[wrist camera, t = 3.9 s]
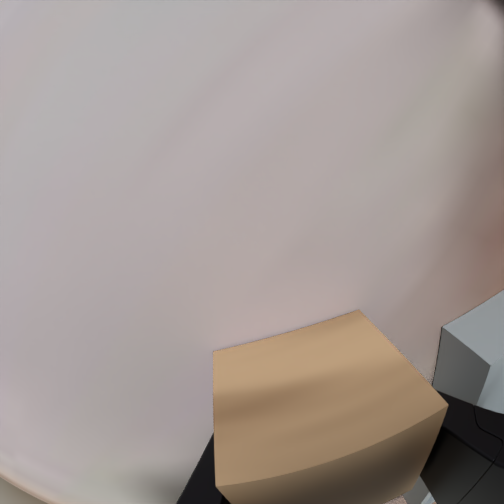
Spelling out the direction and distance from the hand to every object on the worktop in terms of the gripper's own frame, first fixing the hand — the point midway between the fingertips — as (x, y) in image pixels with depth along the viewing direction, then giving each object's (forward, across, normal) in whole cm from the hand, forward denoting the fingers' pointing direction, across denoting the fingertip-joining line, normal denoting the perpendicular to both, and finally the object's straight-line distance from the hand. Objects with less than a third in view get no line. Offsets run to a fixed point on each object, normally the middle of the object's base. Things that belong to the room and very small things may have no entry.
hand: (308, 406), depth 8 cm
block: (+1, 0, 0) cm, 1 cm away
